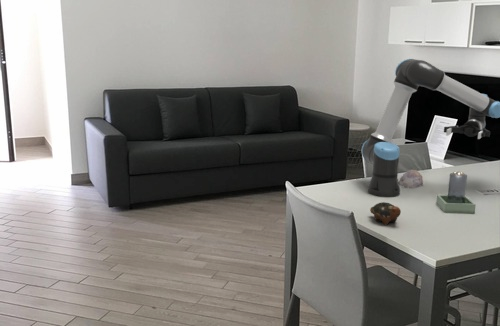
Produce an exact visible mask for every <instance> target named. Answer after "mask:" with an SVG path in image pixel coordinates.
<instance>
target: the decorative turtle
mask: <svg viewBox="0 0 500 326" xmlns="http://www.w3.org/2000/svg"><path fill="white" fill-rule="evenodd" d="M369 209H370V213H371V214H373V216H374V219H375V221H376V222H381V223H382V224H383V225H385V226H387V225H388V224H389V222H391V223H393V224H394V223H396V221H397V219H398V218H399V217H400V215H401V211H402V210H401V209H400V207H399V206H395V205H394V204H392V203H389V202H385V201H383V202H382V201H381V202H378V203H376V204H375V205H373V206H372V207H370V208H369Z"/></svg>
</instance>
